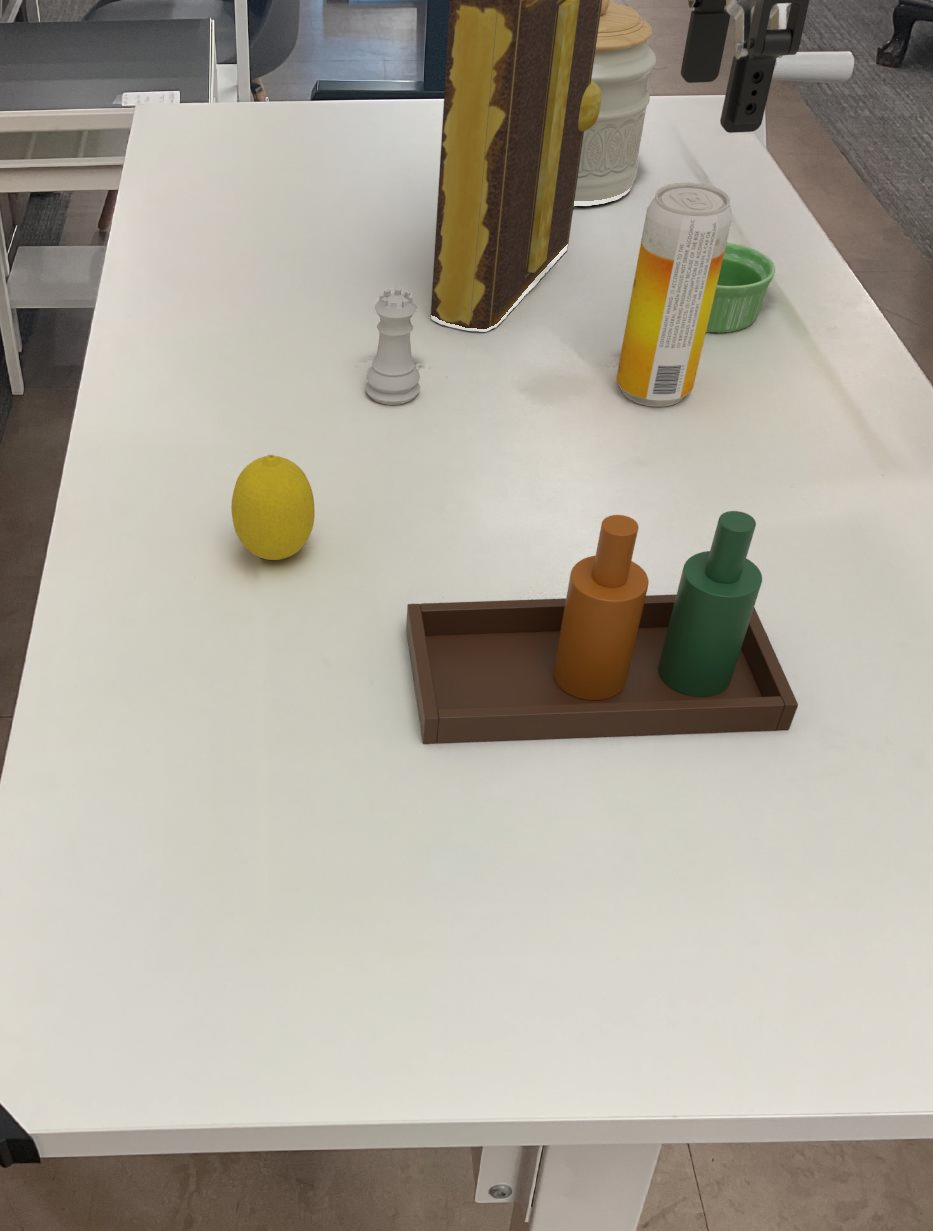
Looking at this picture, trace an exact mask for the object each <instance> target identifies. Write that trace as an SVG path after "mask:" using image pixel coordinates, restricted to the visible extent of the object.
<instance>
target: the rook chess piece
mask: <svg viewBox="0 0 933 1231" xmlns="http://www.w3.org/2000/svg"><path fill="white" fill-rule="evenodd" d="M413 297H414V295H413V294H412V292H411V291H409V290H408V289H406V290H404V294H402V288H397V287H395V288H394V293H393V294H391V289H390V288H387V289H384V290H383V293H382V292H381V293H379V299H378V301H377V302H376V303H375V305H374V308H373V309H374V311H375V313H376V314H377V316H378V317H379V322H378V323H377V325H376V329H377V330H378V344H377V350H376V355H375V358H374V359H373V360H372V362H371V366H369V368H368V369H367V373H366V377H365V379H366V381H367V382H366V383H365V386H364V389H365V392H366V393H367V394H368V396H369V397H370V399H372V400H373V401H374V402H376V403H379V404H382V405H385V406H386V405H388V406H398V405H404V404H407V403H409V402H411V401H412V400H414V398H415V397H416V396H418V394H420V390H421V386H420V384H419V382H420V378H421V375H420V372H419V370H418V368H417V367H416V362H415V361H414V358H413V356H412V346H411V332H412V331H413V329H414V326H413V324H412V322H411V319H412V317H413V316H414V315H415V314H416V313H417V310H418V307H417V305H416V303H415V302H414V301H413Z"/></svg>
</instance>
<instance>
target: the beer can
mask: <svg viewBox="0 0 933 1231" xmlns="http://www.w3.org/2000/svg"><path fill="white" fill-rule="evenodd" d="M732 212H733V211H732V208H731V197H730V196H729V194H728V193H727V192H726V191H724V190H723V189H720V188H718V187H715V186H712V185H708V184H704V183H697V182H676V183H671V184H666V185H664V186H662V187H660V188H659V189H657V190H656V192H655V195H654V197H653V199H652V200H651V202H650V203H649V205H648V206H647V208H646V213H645V217H644V218H645V219H644V224H643V229H642V235H641V240H640V246H639V250H638V251H639V252H638V256H637V261H636V262H637V263H636V268H635V273H634V278H633V284H632V290H631V294H630V300H629V306H628V312H627V317H626V323H625V327H624V334H623V340H622V345H621V350H620V356H619V360H618V361H619V362H618V367H617V372H616V383H617V385H618V386H619V388H620V390H621V393H622V394H623V396H624V397H625V398H626V399H627V400H629V401H631V402H633V403H635V404H638V405H642V406H646V407H654V408H662V407H663V408H664V407H669V406H670V407H671V406H673V405H676V404H678V403H679V402H681V401H682V400H683V399H684V398H685V396H688V395H689V394H690V393H691V392H692V391H693V389H694V386H695V381H696V377H697V372H698V369H699V365H700V360H701V356H702V351H703V348H704V342H705V338H706V333H707V332H706V330H707V326H708V321H709V317H710V313H711V308H712V304H713V300H714V295H715V291H716V287H717V282H718V278H719V274H720V269H721V265H722V261H723V256H724V252H725V248H726V243H727V242H728V238H729V234H730V230H731V229H730V228H731V226H732V223H733V222H732V221H733V213H732Z"/></svg>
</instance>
